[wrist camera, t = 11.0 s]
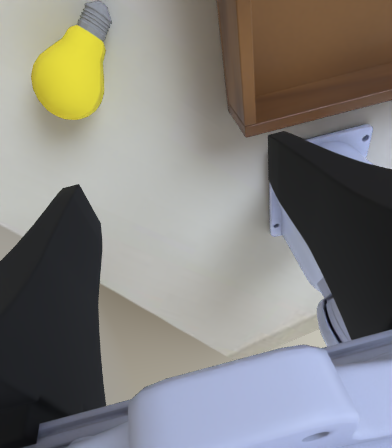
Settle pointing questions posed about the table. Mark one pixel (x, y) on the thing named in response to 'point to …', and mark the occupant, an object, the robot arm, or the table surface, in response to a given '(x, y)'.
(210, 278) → the table surface
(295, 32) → the tray
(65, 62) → the light bulb
